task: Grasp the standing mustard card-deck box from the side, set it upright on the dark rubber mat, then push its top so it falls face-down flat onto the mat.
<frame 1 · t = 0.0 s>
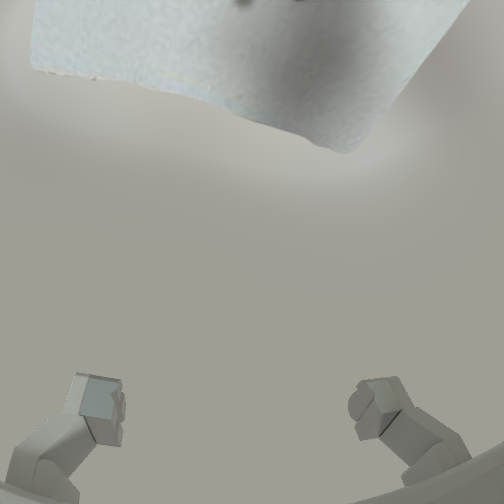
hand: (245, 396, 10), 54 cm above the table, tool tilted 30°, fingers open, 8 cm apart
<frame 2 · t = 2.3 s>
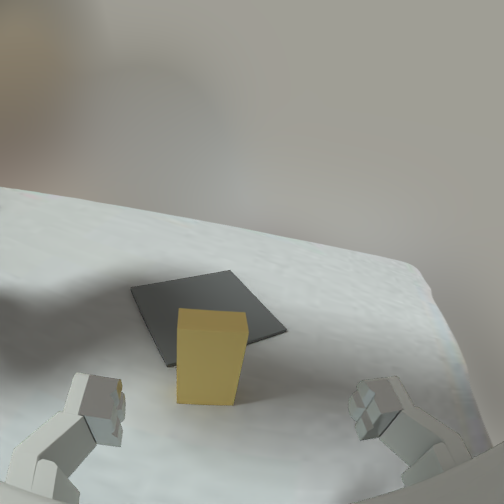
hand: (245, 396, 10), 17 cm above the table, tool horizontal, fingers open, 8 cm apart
deck box: (204, 394, 28), on the table
mat: (204, 311, 39), on the table
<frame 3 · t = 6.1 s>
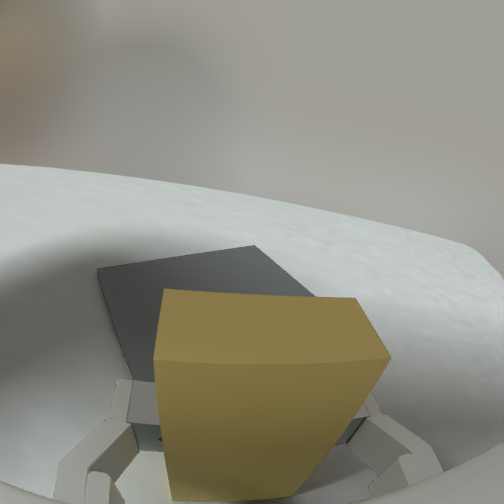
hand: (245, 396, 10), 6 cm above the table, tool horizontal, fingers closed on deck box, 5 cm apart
deck box: (231, 478, 12), on the table, touching gripper
mat: (218, 307, 23), on the table
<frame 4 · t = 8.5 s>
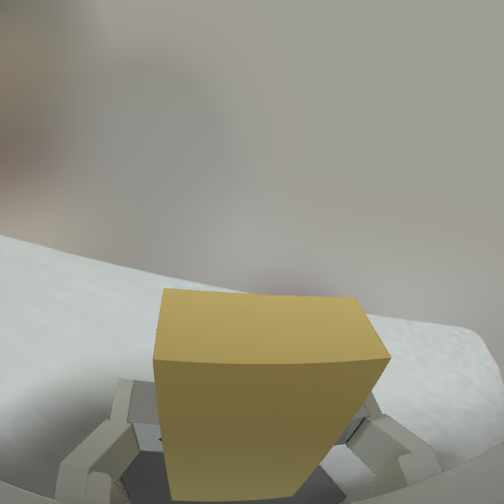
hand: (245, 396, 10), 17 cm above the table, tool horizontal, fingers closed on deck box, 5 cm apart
deck box: (230, 478, 12), point 11 cm above the table, touching gripper
mat: (222, 479, 21), on the table
when the fingers open (7 cm above the table, at t = 10.8 s): deck box stays where it is, resting on mat.
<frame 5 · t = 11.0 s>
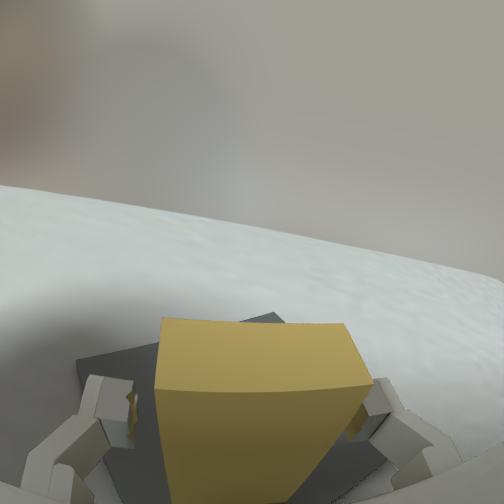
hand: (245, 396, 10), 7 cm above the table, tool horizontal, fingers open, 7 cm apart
deck box: (228, 484, 12), resting on mat
mat: (235, 419, 16), on the table
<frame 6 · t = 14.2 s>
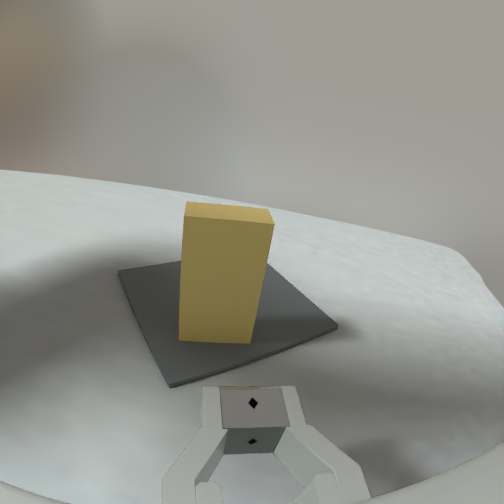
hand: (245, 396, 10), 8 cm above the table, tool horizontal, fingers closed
deck box: (214, 331, 24), resting on mat
mat: (221, 302, 28), on the table
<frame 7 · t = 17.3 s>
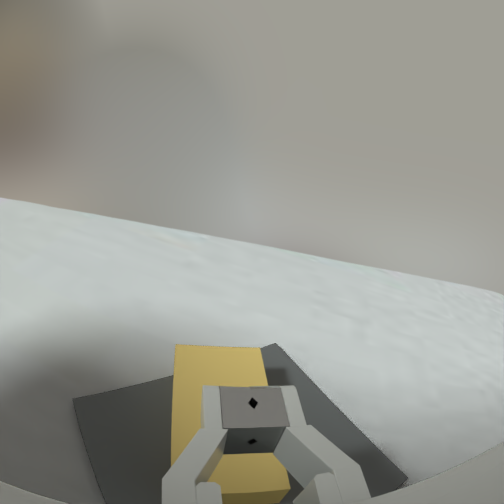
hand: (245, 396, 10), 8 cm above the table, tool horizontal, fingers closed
deck box: (229, 500, 11), point 2 cm above the table, tilted 90°, touching mat
mat: (236, 461, 15), on the table
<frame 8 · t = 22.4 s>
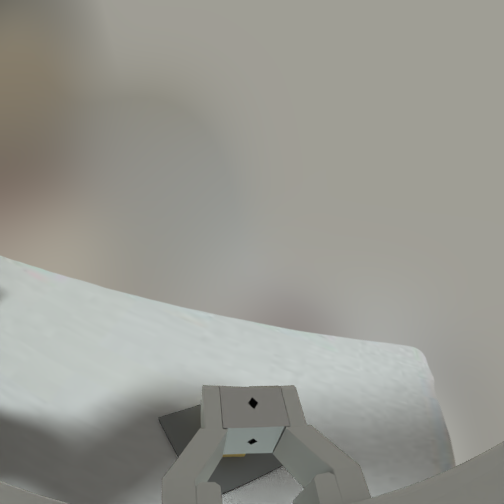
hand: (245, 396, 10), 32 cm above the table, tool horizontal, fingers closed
mat: (228, 440, 39), on the table
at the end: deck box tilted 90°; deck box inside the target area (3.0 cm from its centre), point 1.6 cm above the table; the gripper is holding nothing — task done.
